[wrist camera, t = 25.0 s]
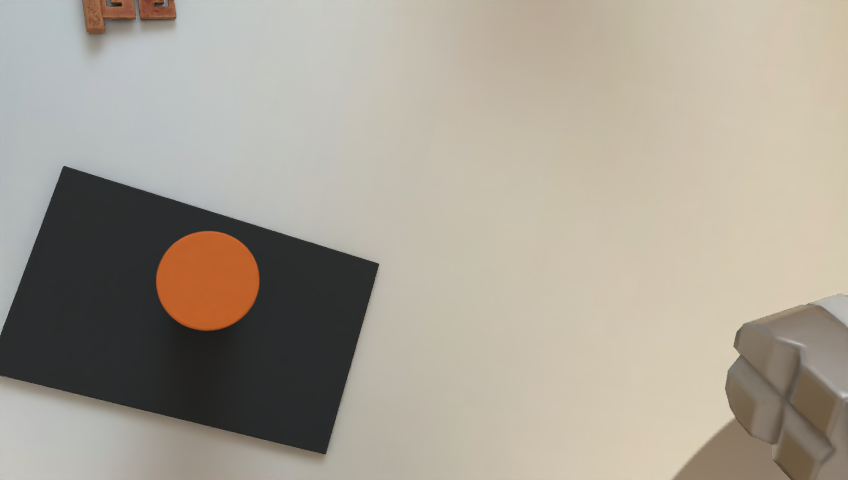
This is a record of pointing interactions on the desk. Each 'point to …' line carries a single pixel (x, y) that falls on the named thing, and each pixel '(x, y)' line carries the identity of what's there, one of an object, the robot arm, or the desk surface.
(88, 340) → the mat
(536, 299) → the desk surface
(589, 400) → the desk surface
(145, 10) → the key
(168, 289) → the marker
